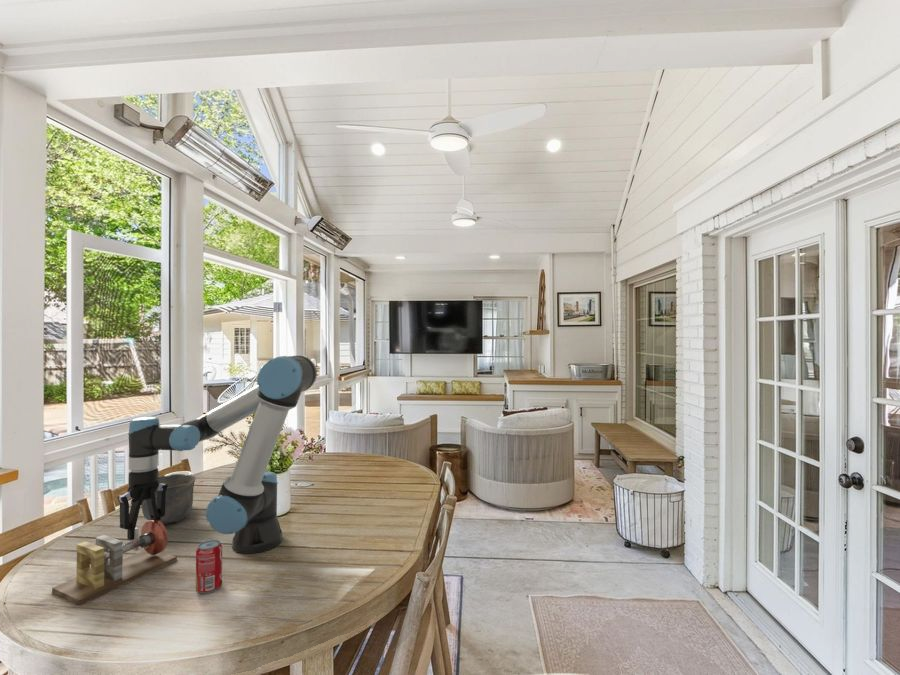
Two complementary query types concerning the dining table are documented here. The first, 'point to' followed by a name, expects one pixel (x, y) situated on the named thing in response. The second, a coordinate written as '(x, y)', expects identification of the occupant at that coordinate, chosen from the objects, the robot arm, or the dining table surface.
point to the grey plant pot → (174, 497)
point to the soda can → (208, 566)
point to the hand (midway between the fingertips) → (143, 545)
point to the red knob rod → (147, 539)
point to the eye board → (127, 573)
